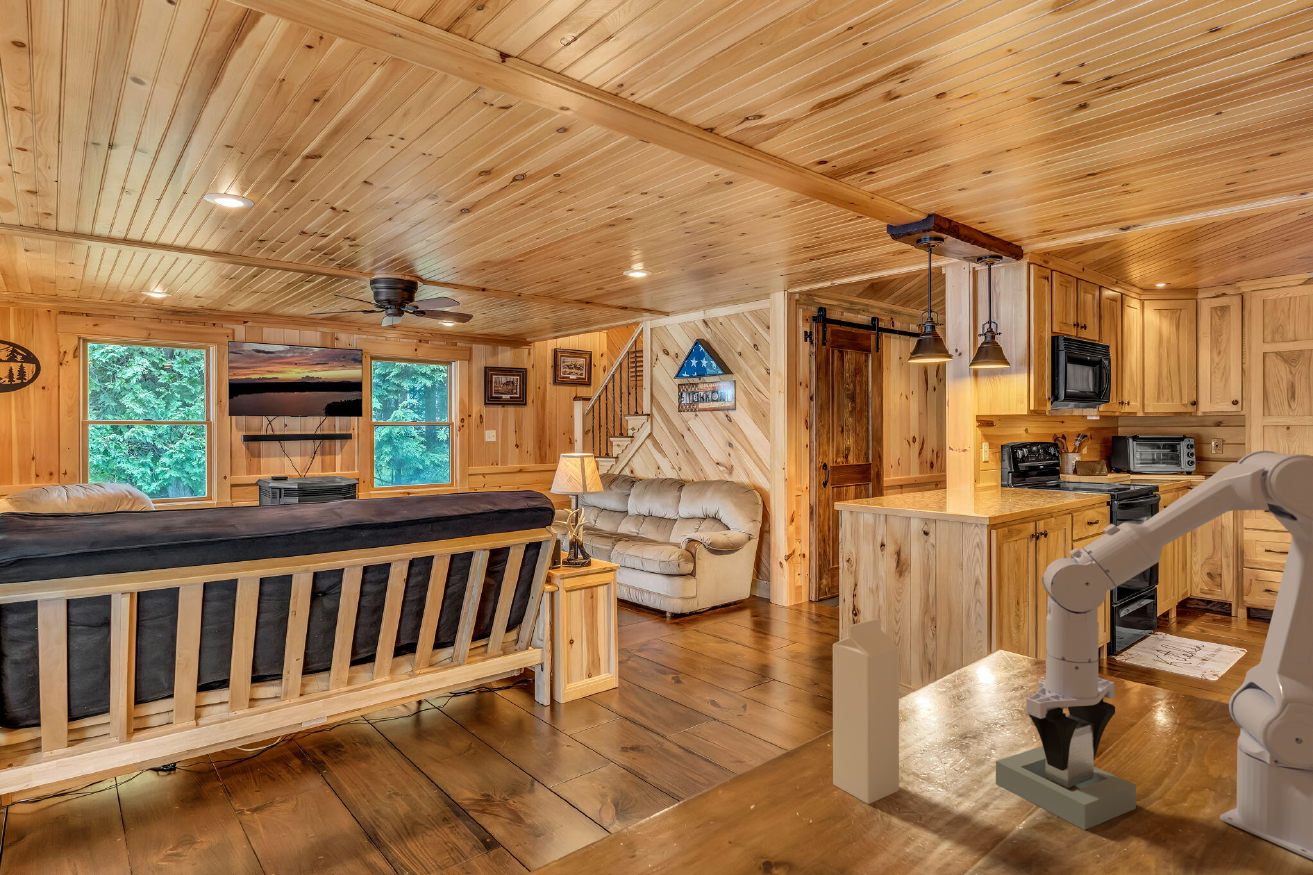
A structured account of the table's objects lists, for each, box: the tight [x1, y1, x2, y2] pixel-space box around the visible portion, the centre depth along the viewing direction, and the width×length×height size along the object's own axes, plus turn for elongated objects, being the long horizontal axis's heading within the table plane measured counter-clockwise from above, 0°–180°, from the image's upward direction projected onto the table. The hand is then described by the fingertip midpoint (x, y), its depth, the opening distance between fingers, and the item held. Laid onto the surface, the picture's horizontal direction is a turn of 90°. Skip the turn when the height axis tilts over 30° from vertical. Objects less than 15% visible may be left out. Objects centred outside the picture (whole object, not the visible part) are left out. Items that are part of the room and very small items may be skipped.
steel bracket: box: [1030, 711, 1095, 789], centre depth 91 cm, size 5×5×7 cm
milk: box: [832, 618, 900, 805], centre depth 93 cm, size 6×6×22 cm
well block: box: [995, 745, 1137, 831], centre depth 91 cm, size 12×10×3 cm
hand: (1070, 761), depth 90 cm, fingers closed on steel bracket, 5 cm apart
